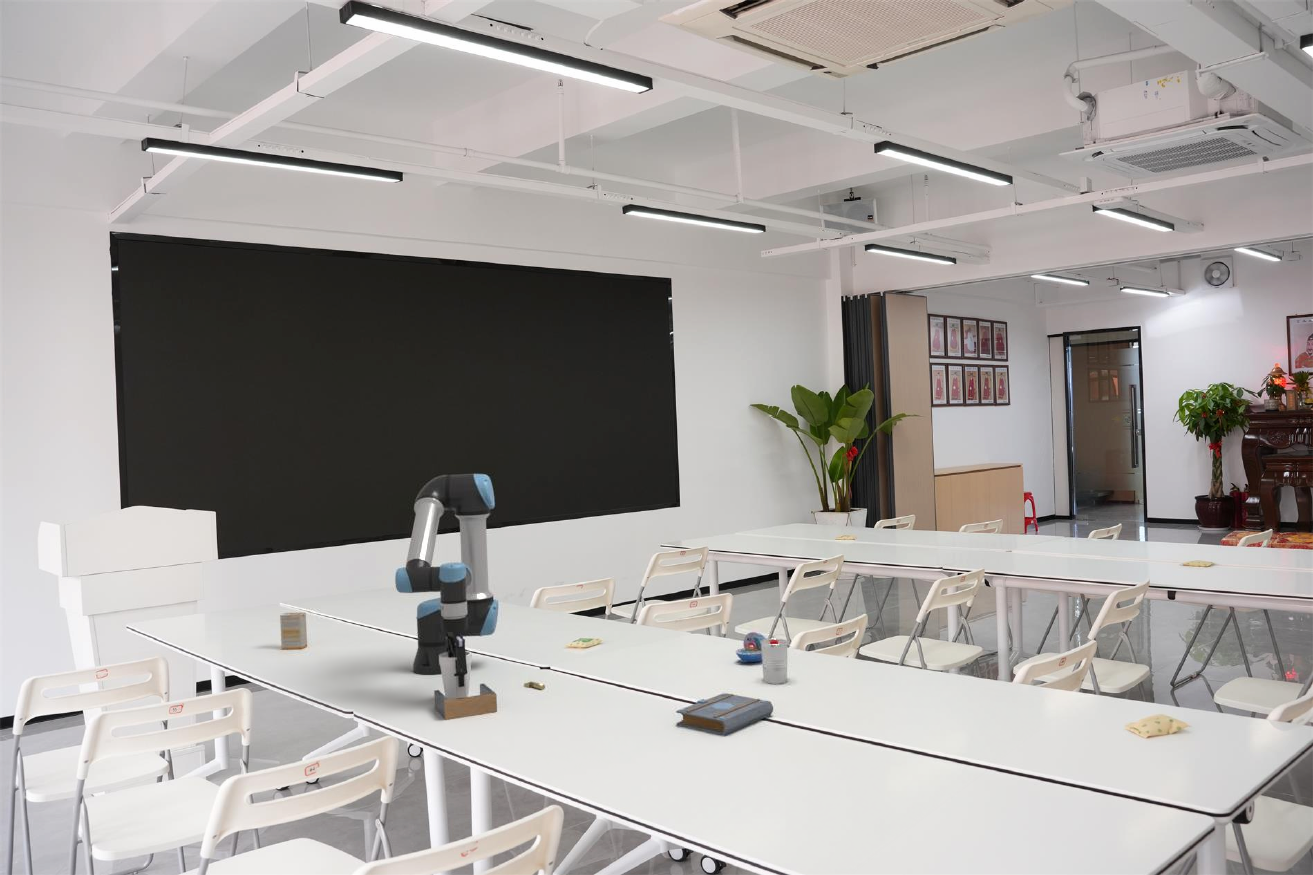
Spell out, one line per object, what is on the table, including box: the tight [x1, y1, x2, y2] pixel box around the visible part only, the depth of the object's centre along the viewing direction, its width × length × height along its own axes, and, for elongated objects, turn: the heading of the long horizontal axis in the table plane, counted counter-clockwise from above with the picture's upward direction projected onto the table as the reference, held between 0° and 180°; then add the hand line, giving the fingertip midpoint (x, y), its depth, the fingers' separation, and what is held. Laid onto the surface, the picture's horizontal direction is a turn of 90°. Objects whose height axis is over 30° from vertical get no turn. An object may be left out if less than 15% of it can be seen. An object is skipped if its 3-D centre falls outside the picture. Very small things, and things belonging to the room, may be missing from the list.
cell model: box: [735, 631, 767, 663], centre depth 319 cm, size 10×12×10 cm
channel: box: [433, 683, 498, 721], centre depth 273 cm, size 13×14×5 cm
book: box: [675, 692, 774, 736], centre depth 255 cm, size 21×16×5 cm
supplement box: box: [279, 612, 308, 650], centre depth 366 cm, size 8×5×13 cm, turn 84°
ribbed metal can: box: [758, 638, 791, 685], centre depth 294 cm, size 10×8×12 cm
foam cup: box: [439, 650, 473, 700], centre depth 282 cm, size 10×9×13 cm
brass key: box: [523, 681, 546, 691], centre depth 295 cm, size 8×2×2 cm, turn 45°
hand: (456, 693), depth 282 cm, fingers closed on foam cup, 9 cm apart
